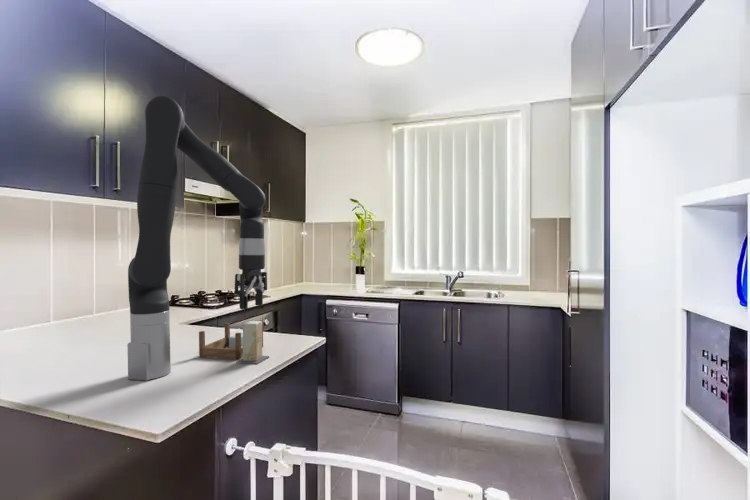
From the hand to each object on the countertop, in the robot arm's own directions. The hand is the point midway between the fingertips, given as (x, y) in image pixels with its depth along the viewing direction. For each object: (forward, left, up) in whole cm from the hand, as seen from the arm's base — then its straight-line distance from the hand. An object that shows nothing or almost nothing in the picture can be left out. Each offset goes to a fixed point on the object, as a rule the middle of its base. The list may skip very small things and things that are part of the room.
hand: (251, 307), depth 114 cm
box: (0, 0, -16) cm, 16 cm away
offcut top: (+7, +8, -14) cm, 17 cm away
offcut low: (+6, +8, -17) cm, 20 cm away
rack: (+7, +11, -16) cm, 21 cm away
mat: (0, 0, -16) cm, 16 cm away
